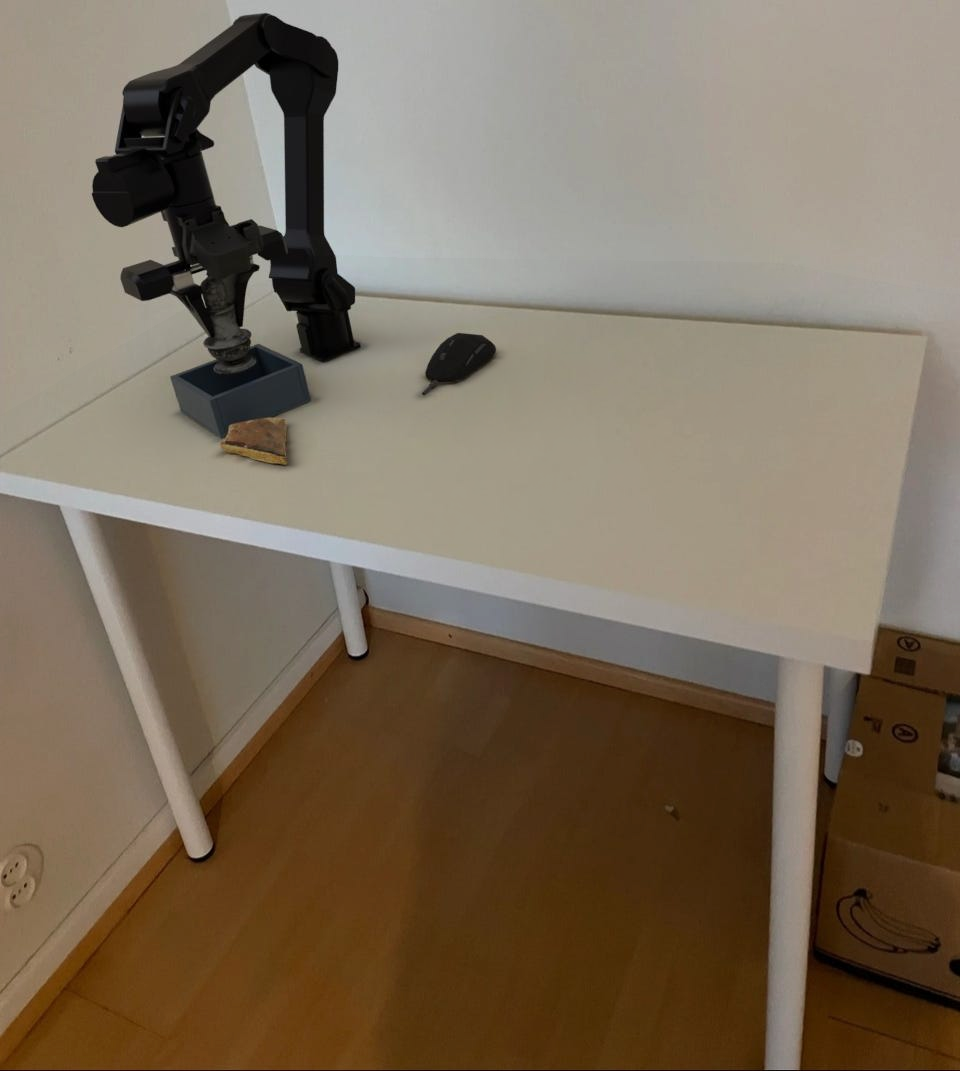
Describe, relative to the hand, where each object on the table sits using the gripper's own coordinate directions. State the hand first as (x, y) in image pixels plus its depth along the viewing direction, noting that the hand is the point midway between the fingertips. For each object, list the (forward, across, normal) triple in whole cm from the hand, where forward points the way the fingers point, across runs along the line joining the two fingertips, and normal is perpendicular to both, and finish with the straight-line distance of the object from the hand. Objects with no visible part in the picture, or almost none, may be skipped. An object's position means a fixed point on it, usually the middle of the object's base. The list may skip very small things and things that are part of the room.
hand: (225, 331), depth 116 cm
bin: (+10, 0, 0) cm, 10 cm away
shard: (+10, -3, -12) cm, 16 cm away
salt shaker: (+5, 0, 0) cm, 5 cm away
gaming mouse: (+10, +23, -14) cm, 29 cm away
